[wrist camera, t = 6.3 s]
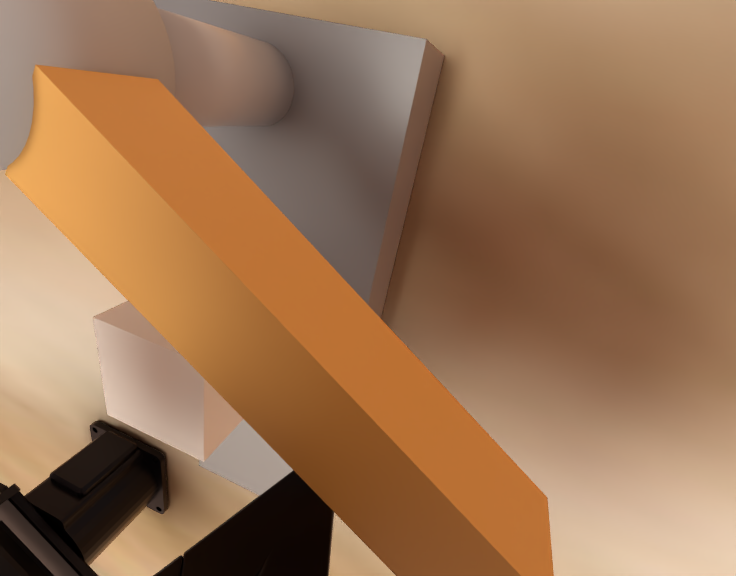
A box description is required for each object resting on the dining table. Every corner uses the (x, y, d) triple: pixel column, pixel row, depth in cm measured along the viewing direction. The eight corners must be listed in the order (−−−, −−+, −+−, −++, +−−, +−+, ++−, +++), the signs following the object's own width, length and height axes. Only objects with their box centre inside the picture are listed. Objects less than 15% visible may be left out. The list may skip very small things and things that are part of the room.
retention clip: (582, 462, 7) (618, 646, 5) (441, 516, 9) (411, 672, 7) (59, -108, 7) (-233, -255, 4) (14, 69, 8) (-210, 47, 6)
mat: (324, 517, 25) (320, 525, 24) (205, 458, 26) (199, 465, 26) (348, 412, 21) (344, 419, 20) (205, 352, 22) (198, 358, 22)
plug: (314, 341, 20) (203, 462, 13) (246, 315, 20) (107, 414, 13) (326, 269, 18) (204, 364, 11) (250, 244, 19) (92, 317, 12)
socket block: (362, 394, 20) (278, 542, 13) (198, 328, 22) (50, 423, 15) (444, 55, 13) (362, -20, 6) (196, 9, 15) (-71, -85, 8)
